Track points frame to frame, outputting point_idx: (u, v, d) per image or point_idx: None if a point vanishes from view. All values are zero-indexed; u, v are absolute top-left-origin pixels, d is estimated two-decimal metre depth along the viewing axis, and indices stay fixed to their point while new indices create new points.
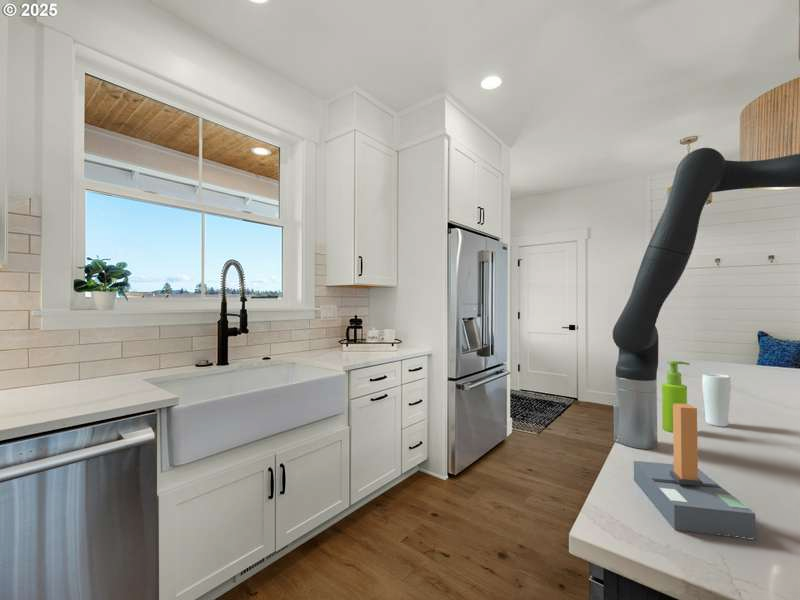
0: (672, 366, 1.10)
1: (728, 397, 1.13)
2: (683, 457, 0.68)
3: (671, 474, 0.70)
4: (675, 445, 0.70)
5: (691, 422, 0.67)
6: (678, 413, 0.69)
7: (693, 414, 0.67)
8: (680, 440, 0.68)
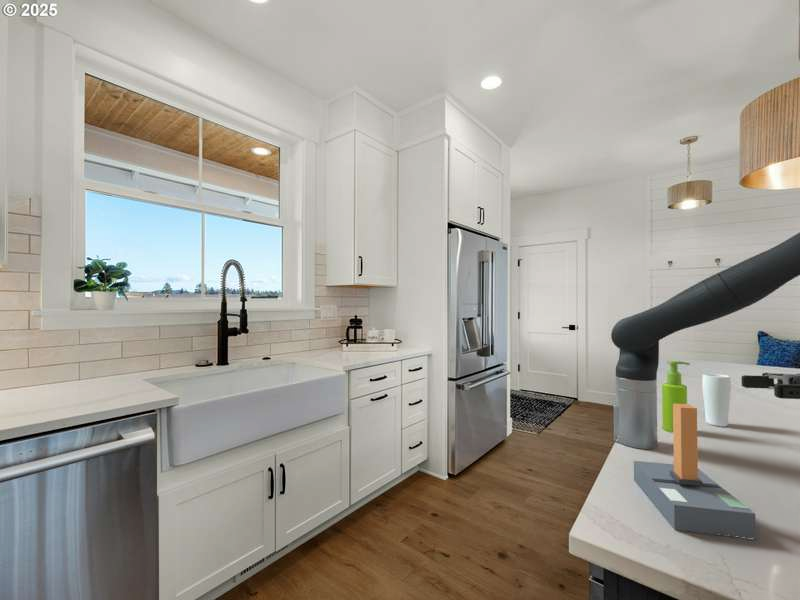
0: (672, 366, 1.10)
1: (728, 397, 1.13)
2: (683, 457, 0.68)
3: (671, 474, 0.70)
4: (675, 445, 0.70)
5: (691, 422, 0.67)
6: (678, 413, 0.69)
7: (693, 414, 0.67)
8: (680, 440, 0.68)
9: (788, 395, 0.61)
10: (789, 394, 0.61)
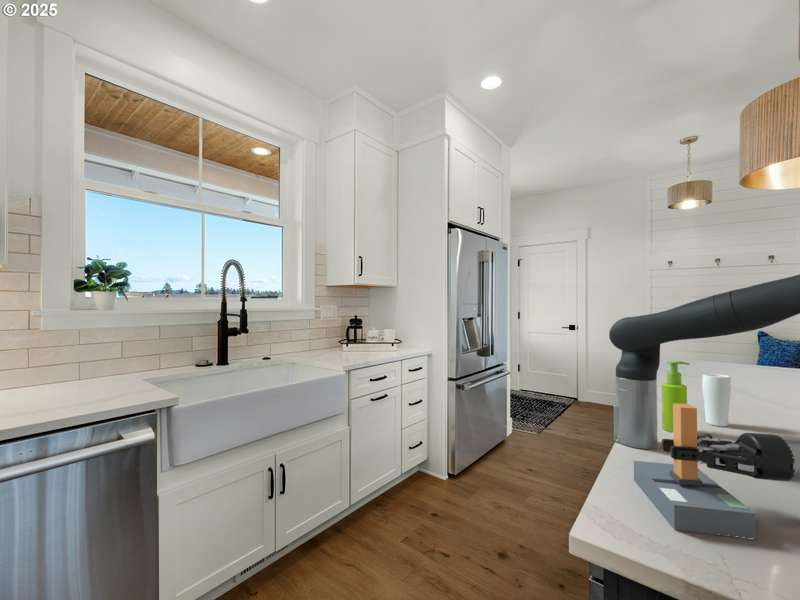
0: (672, 366, 1.10)
1: (728, 397, 1.13)
2: None
3: (671, 474, 0.70)
4: (675, 445, 0.70)
5: (691, 422, 0.67)
6: (678, 413, 0.69)
7: (693, 414, 0.67)
8: (680, 440, 0.68)
9: (680, 457, 0.66)
10: (681, 456, 0.66)
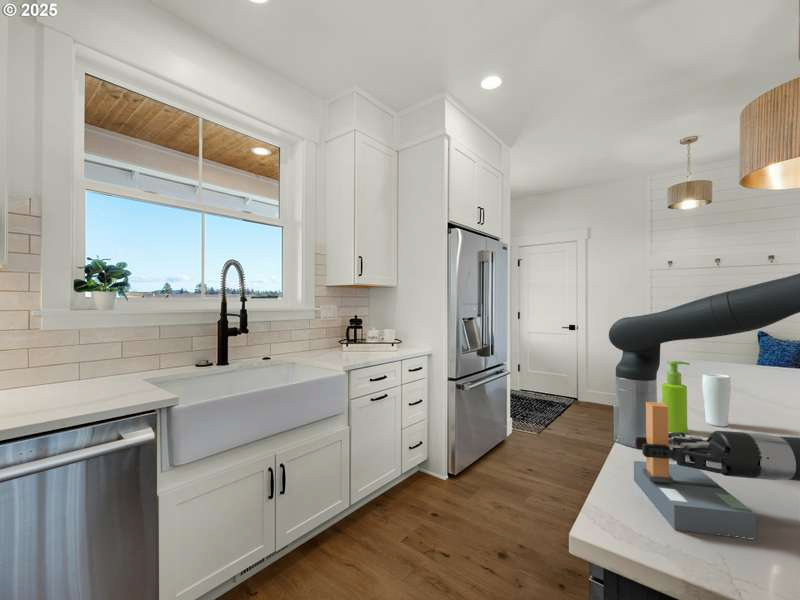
0: (672, 366, 1.10)
1: (728, 397, 1.13)
2: None
3: (644, 471, 0.71)
4: (648, 443, 0.71)
5: (662, 420, 0.68)
6: (650, 412, 0.70)
7: (664, 412, 0.68)
8: (652, 438, 0.69)
9: (652, 455, 0.68)
10: (653, 454, 0.68)
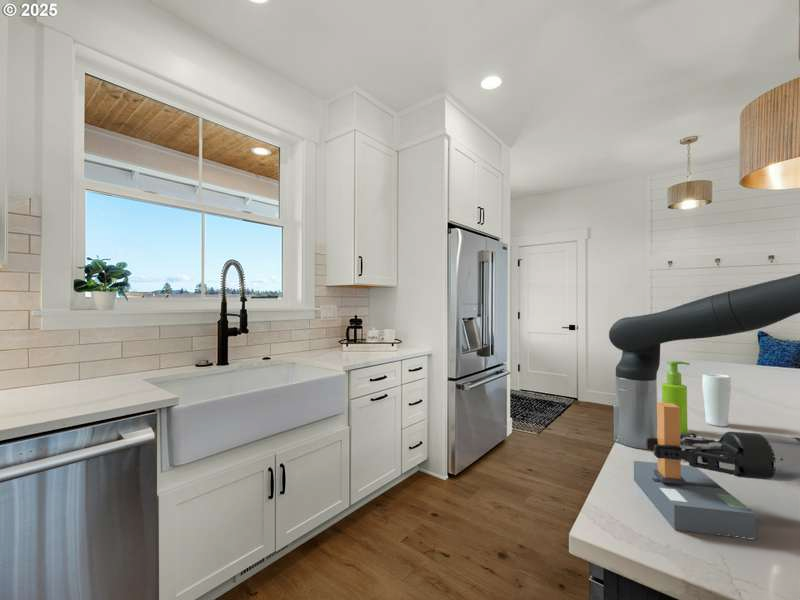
0: (672, 366, 1.10)
1: (728, 397, 1.13)
2: None
3: (655, 473, 0.71)
4: (659, 444, 0.70)
5: (674, 421, 0.68)
6: (662, 412, 0.69)
7: (676, 413, 0.68)
8: (663, 439, 0.69)
9: (663, 456, 0.67)
10: (664, 455, 0.67)
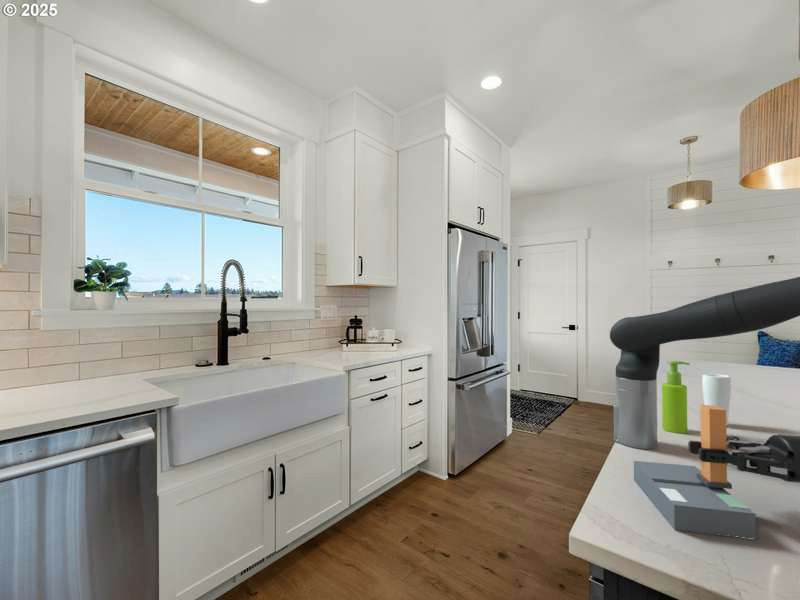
0: (672, 366, 1.10)
1: (728, 397, 1.13)
2: None
3: (698, 477, 0.69)
4: (703, 447, 0.69)
5: (720, 424, 0.66)
6: (706, 415, 0.67)
7: (722, 416, 0.66)
8: (709, 442, 0.67)
9: (710, 459, 0.65)
10: (710, 459, 0.65)
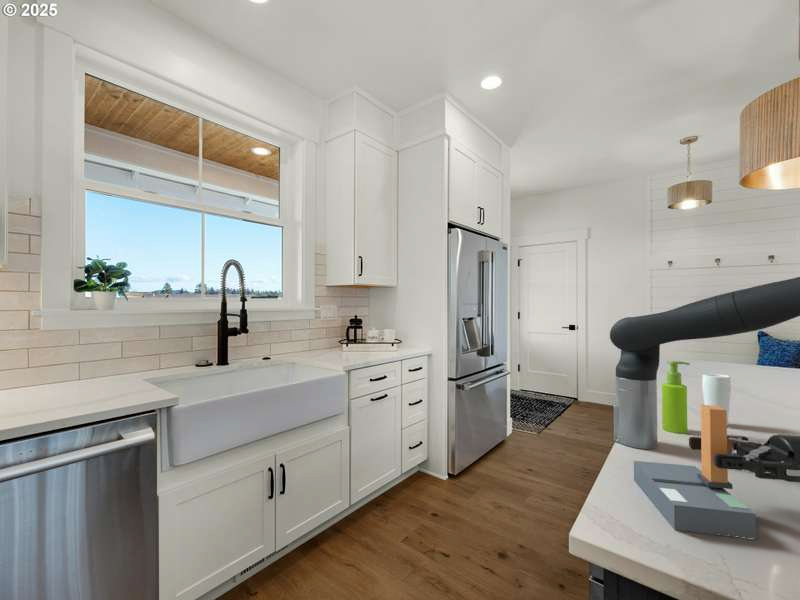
0: (672, 366, 1.10)
1: (728, 397, 1.13)
2: (712, 460, 0.66)
3: (699, 477, 0.69)
4: (704, 447, 0.69)
5: (721, 424, 0.66)
6: (707, 415, 0.67)
7: (723, 416, 0.66)
8: (709, 442, 0.67)
9: (726, 466, 0.63)
10: (727, 465, 0.63)
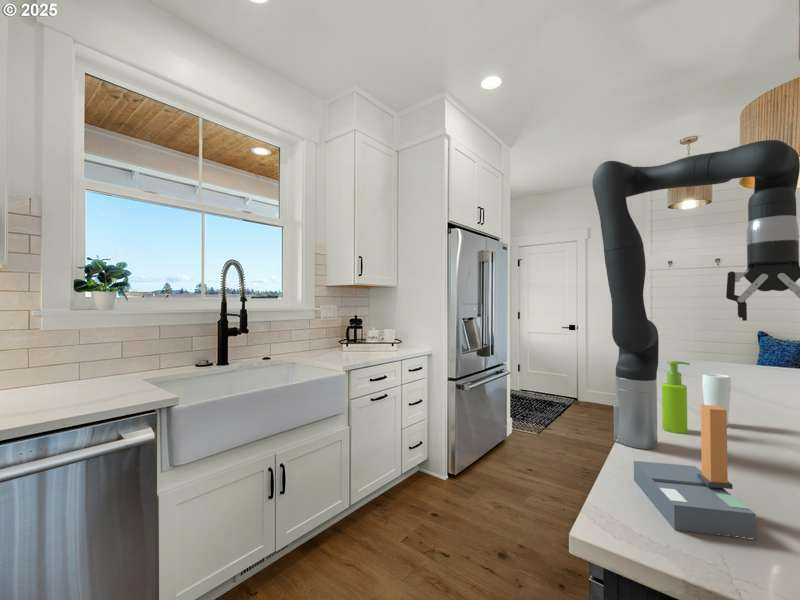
0: (672, 366, 1.10)
1: (728, 397, 1.13)
2: (712, 460, 0.66)
3: (699, 477, 0.69)
4: (704, 447, 0.69)
5: (721, 424, 0.66)
6: (707, 415, 0.67)
7: (723, 416, 0.66)
8: (709, 442, 0.67)
9: None
10: None
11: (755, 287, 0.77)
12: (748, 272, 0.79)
